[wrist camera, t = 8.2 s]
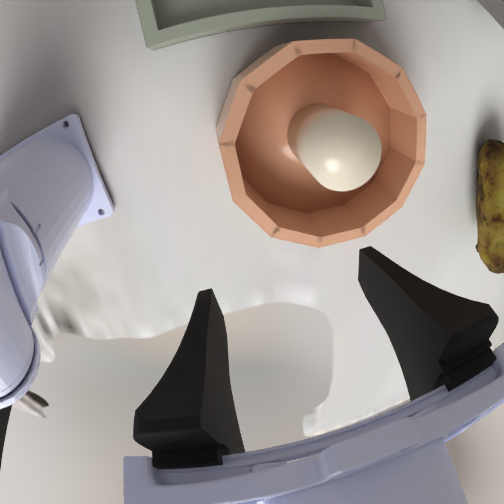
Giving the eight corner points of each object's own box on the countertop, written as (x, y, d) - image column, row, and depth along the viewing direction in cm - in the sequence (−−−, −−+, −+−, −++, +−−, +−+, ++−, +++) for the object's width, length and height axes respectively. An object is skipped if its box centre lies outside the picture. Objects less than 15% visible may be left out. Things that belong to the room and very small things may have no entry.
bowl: (241, 231, 23) (248, 264, 19) (199, 59, 15) (197, 57, 12) (391, 197, 23) (418, 222, 20) (386, 42, 15) (422, 43, 12)
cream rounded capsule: (292, 171, 20) (313, 198, 16) (281, 109, 17) (303, 122, 13) (350, 158, 19) (381, 183, 16) (345, 99, 17) (379, 111, 13)
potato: (511, 142, 20) (563, 174, 14) (480, 239, 28) (520, 280, 22) (471, 128, 19) (535, 163, 13) (438, 243, 27) (482, 292, 21)
